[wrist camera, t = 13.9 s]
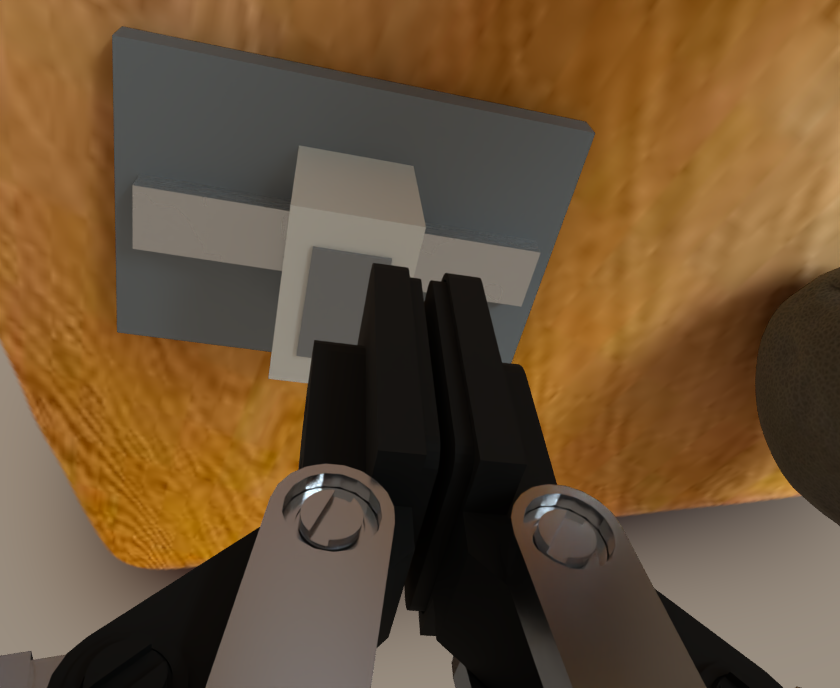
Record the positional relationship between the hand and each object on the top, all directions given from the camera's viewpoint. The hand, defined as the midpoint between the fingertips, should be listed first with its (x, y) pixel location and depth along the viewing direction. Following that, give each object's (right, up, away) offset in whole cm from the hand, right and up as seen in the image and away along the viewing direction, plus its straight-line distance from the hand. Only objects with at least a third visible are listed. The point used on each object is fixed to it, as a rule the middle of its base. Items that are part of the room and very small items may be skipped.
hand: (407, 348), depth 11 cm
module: (-3, +5, +22) cm, 23 cm away
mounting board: (-4, +6, +23) cm, 24 cm away
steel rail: (-3, +5, +22) cm, 23 cm away
